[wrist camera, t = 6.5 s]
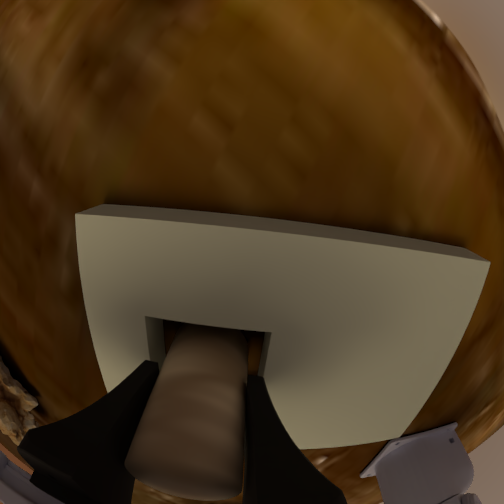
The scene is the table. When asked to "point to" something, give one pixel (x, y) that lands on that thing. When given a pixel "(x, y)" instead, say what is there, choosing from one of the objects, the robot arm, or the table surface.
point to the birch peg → (195, 417)
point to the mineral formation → (15, 406)
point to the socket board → (284, 308)
